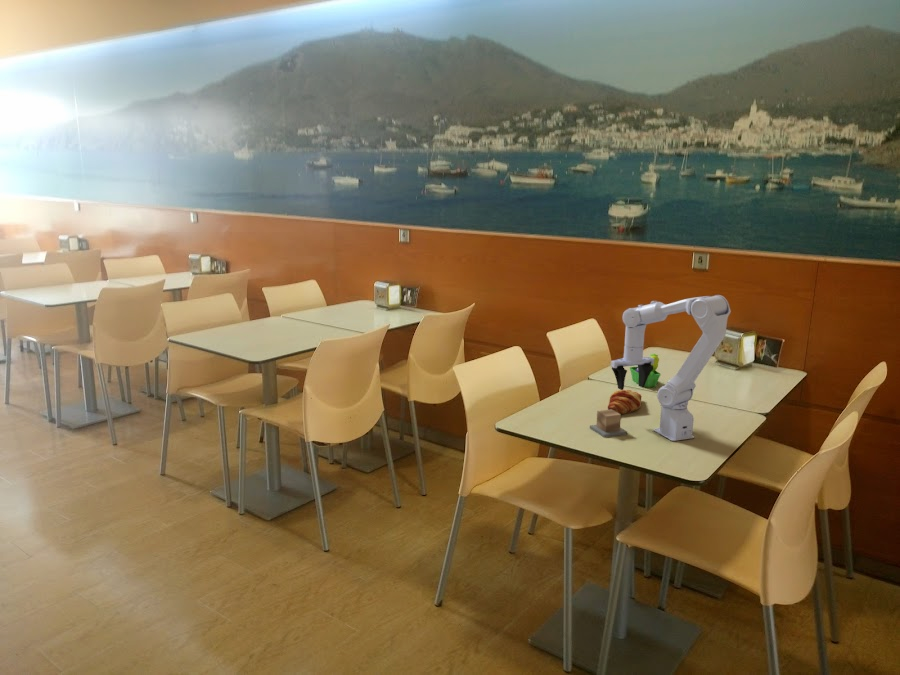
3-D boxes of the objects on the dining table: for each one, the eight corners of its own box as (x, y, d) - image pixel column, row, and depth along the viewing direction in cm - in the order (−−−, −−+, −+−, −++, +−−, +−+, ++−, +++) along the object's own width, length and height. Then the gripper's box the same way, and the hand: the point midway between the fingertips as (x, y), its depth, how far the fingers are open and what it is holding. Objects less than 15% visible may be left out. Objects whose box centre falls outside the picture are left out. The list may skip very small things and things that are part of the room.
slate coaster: (627, 434, 204) (627, 431, 204) (603, 437, 202) (604, 434, 201) (612, 425, 212) (612, 422, 211) (589, 428, 209) (589, 425, 209)
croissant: (630, 408, 238) (622, 386, 239) (656, 400, 231) (647, 378, 232) (602, 423, 222) (593, 400, 222) (629, 415, 215) (619, 392, 216)
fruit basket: (627, 379, 259) (629, 351, 257) (649, 378, 261) (651, 350, 258) (641, 388, 248) (643, 358, 246) (663, 387, 250) (666, 357, 247)
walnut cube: (619, 430, 205) (620, 414, 204) (605, 432, 203) (606, 416, 202) (610, 424, 210) (611, 409, 209) (596, 426, 208) (597, 411, 207)
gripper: (646, 341, 217) (643, 382, 221) (606, 344, 213) (604, 386, 216) (659, 346, 211) (656, 388, 214) (619, 349, 206) (616, 392, 209)
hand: (631, 387), depth 215 cm, fingers open, 7 cm apart
